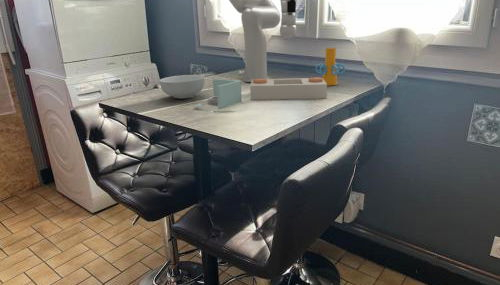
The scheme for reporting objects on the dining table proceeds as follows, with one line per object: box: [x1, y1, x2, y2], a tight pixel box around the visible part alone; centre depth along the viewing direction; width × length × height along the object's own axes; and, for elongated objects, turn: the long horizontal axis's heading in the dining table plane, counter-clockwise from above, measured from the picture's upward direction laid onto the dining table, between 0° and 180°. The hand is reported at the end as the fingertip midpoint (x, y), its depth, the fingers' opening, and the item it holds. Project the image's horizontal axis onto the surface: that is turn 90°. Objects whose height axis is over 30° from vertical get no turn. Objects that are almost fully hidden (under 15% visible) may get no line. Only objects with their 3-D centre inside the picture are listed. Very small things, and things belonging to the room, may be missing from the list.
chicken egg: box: [253, 79, 267, 84], centre depth 144 cm, size 5×5×6 cm
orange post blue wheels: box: [314, 47, 346, 87], centre depth 160 cm, size 12×10×15 cm
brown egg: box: [309, 76, 323, 82], centre depth 143 cm, size 5×5×6 cm
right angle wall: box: [193, 78, 243, 110], centre depth 134 cm, size 12×12×8 cm
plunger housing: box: [249, 77, 328, 101], centre depth 144 cm, size 27×14×5 cm, turn 87°
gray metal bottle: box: [279, 0, 298, 39], centre depth 148 cm, size 6×7×20 cm
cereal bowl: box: [159, 74, 206, 99], centre depth 148 cm, size 17×17×7 cm
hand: (288, 12), depth 149 cm, fingers closed on gray metal bottle, 6 cm apart
